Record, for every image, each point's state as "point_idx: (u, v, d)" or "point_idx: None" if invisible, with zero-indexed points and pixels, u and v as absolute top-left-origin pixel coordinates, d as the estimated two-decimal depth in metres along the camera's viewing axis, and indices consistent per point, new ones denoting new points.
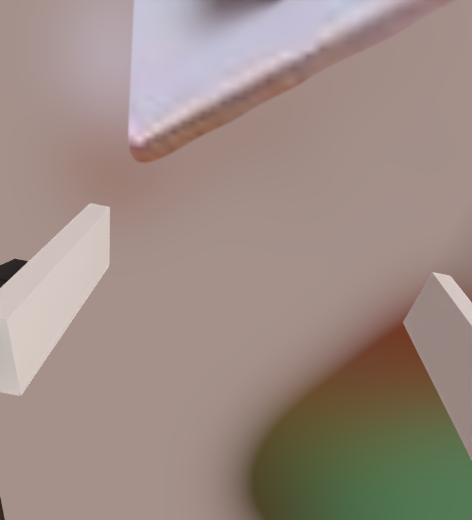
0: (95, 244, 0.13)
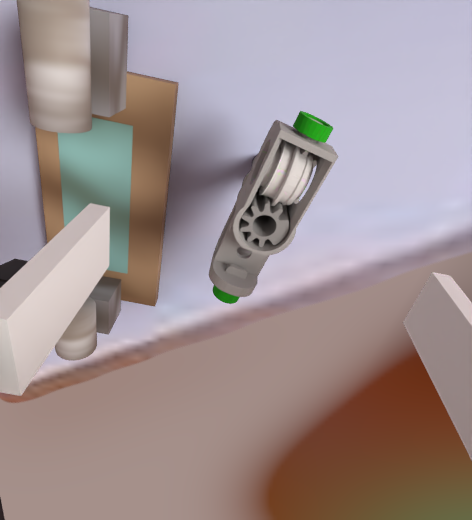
0: (95, 244, 0.13)
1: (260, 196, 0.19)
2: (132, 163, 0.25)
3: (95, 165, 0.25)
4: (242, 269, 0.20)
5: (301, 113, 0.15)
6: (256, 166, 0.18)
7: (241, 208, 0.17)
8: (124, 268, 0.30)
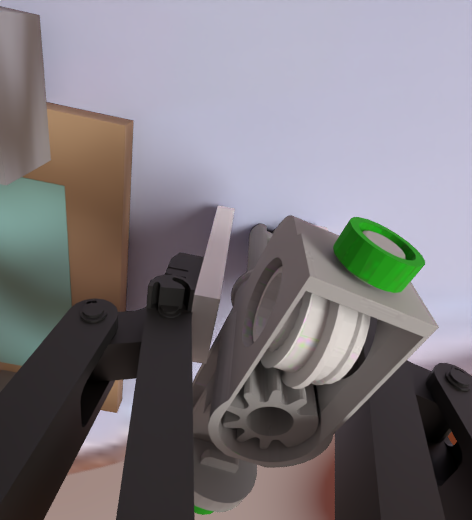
0: None
1: None
2: (69, 237, 0.17)
3: (14, 239, 0.17)
4: (230, 459, 0.11)
5: (354, 230, 0.07)
6: (254, 294, 0.10)
7: (223, 400, 0.08)
8: None
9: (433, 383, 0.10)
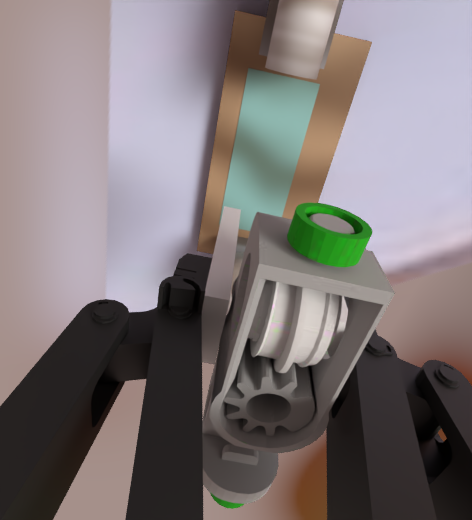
0: None
1: None
2: (309, 122, 0.26)
3: (272, 124, 0.26)
4: (248, 452, 0.12)
5: (298, 215, 0.07)
6: (239, 290, 0.10)
7: (217, 393, 0.09)
8: None
9: (423, 380, 0.10)
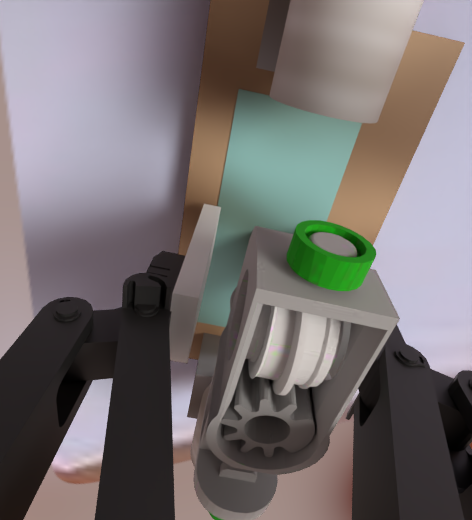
0: (214, 239, 0.15)
1: None
2: (343, 178, 0.15)
3: (279, 181, 0.16)
4: (247, 469, 0.11)
5: (298, 235, 0.07)
6: (237, 306, 0.10)
7: (214, 415, 0.08)
8: None
9: (456, 390, 0.10)
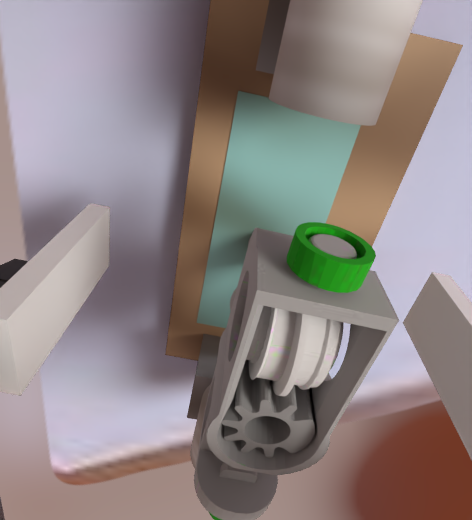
0: (95, 244, 0.13)
1: None
2: (342, 179, 0.15)
3: (279, 182, 0.16)
4: (247, 470, 0.11)
5: (298, 237, 0.07)
6: (237, 307, 0.10)
7: (215, 416, 0.09)
8: None
9: None
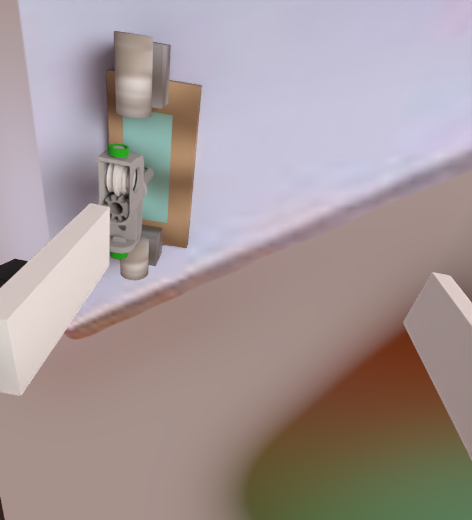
0: (95, 244, 0.13)
1: None
2: (171, 141, 0.37)
3: (146, 143, 0.38)
4: (121, 237, 0.33)
5: (108, 145, 0.29)
6: None
7: (98, 201, 0.30)
8: (165, 218, 0.42)
9: None
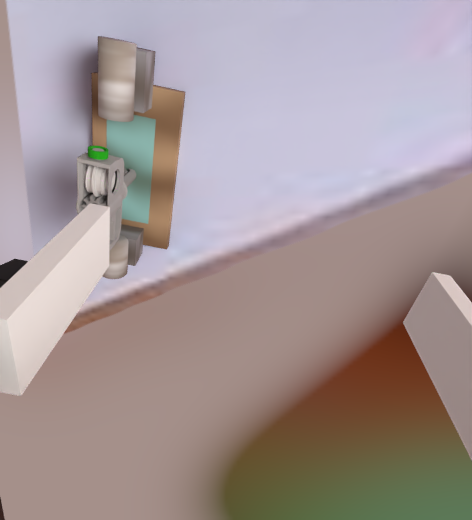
0: (95, 244, 0.13)
1: None
2: (154, 144, 0.38)
3: (130, 145, 0.38)
4: None
5: (88, 147, 0.29)
6: None
7: (77, 201, 0.31)
8: (146, 219, 0.43)
9: None
